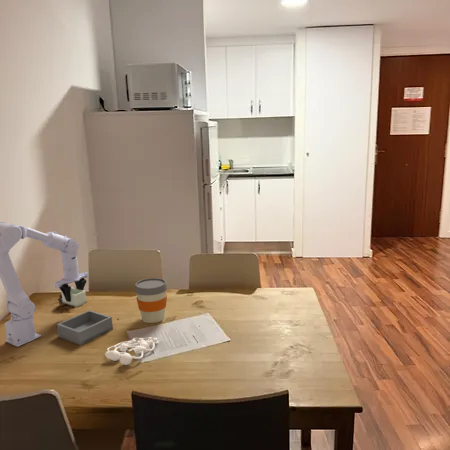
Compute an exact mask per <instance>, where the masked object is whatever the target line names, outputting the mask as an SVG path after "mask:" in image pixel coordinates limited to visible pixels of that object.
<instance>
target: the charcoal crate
mask: <svg viewBox="0 0 450 450" xmlns="http://www.w3.org/2000/svg"><path fill="white" fill-rule="evenodd" d="M56 326H57V335H58V338H61V339H64V340H65V341H69V342H71V343H73V344H76V345H79V346H82V345H84V344H87V343H88V342H90V341H93V340H94V339H97V338H98V337H100V336H102V335H104V334H107V333H108V332H111V331H112V330H113V329H114V328H113V327H114V326H113V317H112V316H109V315H107V314H103V313H100V312H96V311H93V310H90V309H89V310H87V311H85V312H81V313H80V314H77V315H75V316H73V317H70V318H68V319H65V320H64V321H62V322H59V323H56Z"/></svg>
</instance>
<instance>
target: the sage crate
mask: <svg viewBox="0 0 450 450" xmlns="http://www.w3.org/2000/svg"><path fill="white" fill-rule="evenodd" d="M60 291H61V290H60ZM86 291H87V290H84V289H83V290H80V289H76V287H72V286H71V291H70V296H71V302H67V301H66V299H65V297H64V294H63V293H62V291H61V292H60V294H61V293H62V301H63V303H66V304H65V305H70V306H71V307H74V308H78V307H80V306H83V305H84V304H86V303H87V301H88V300H87V293H86Z"/></svg>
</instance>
